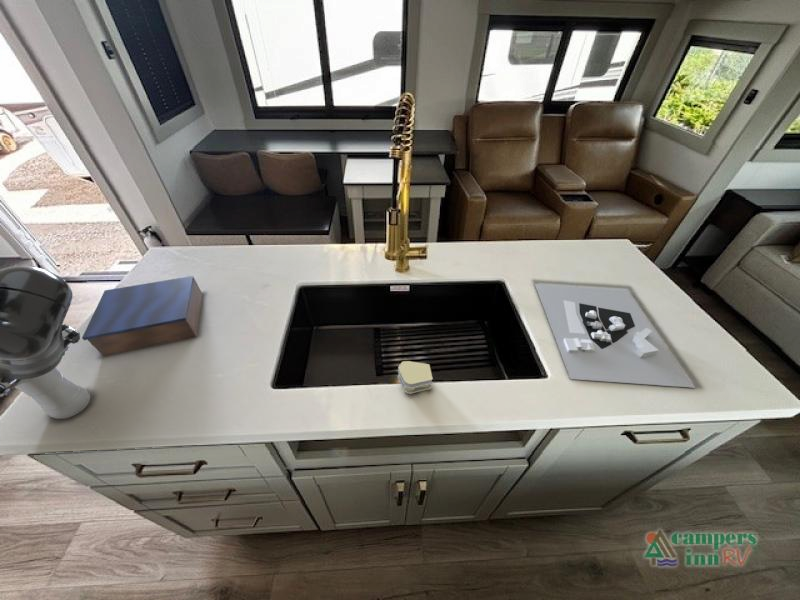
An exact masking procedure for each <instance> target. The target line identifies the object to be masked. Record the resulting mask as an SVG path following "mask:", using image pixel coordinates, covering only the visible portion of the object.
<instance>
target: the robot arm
mask: <svg viewBox="0 0 800 600" xmlns="http://www.w3.org/2000/svg"><path fill="white" fill-rule="evenodd" d="M72 301H73V290H72V288H71V286H70V285H69V284H68V282H66V280H64V279H63V278H62V277H60V276H59V275H58V274H56V273H54V272H52V271H50V270H47V269H44V268H41V267H36V266H29V265H17V266H9V267H4V268H2V269H0V398H2V397H4V396H7V397H9V396H10V395H11V394H13V391H12V390H13V389H16V388H15V387H17V386H18V385H20V384H21V383H22V382H23V381H24V380H25V379H31V378H36V377H39V376H42V375H44V374H46V373H48V372H50V371H51V370H53V369H54V368H55V367H56V368H57V366H59V364H60V363H61V360H62V359H63V357H64V356H65V355H66V352H67V351H68V350H69V349H70V346H69V345H70V344H72V345H74V344H77V343H79V342H80V340H81V332H79V331H78V330H76V329H74V328H73V327H72V326H71V325H69V324H67V323H64V321H65V319H66V316H67V314H68V312H69V310H70V307H71V304H72ZM16 379H17V380H16Z"/></svg>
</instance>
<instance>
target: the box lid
mask: <svg viewBox="0 0 800 600" xmlns="http://www.w3.org/2000/svg"><path fill="white" fill-rule="evenodd" d="M194 279H195V276H194V275H190V276H189V275H188V276H184V277H178V278H172V279H165V280H159V281H154V282H147V283H141V284H135V285H129V286H124V287H117V288H111V289H105V290H104V291H103V293H102V295H101V298H100V300H99V302H98V304H97V306H96V307H95V310H94V312H93V314H92V316H91V318H90V320H89V322H88V324H87V327H86V329H85V330H84V333H83V334H82V337H81V339H82V340H83V341H88V339H93V338H99V337H104V336H109V335H114V334H119V333H124V332H129V331H134V330H139V329H144V328H149V327H155V326H160V325H165V324H170V323H175V322H180V321H185V320H187V314H188V309H189V303H190V298H191V292H192V287H193V282H194Z"/></svg>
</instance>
